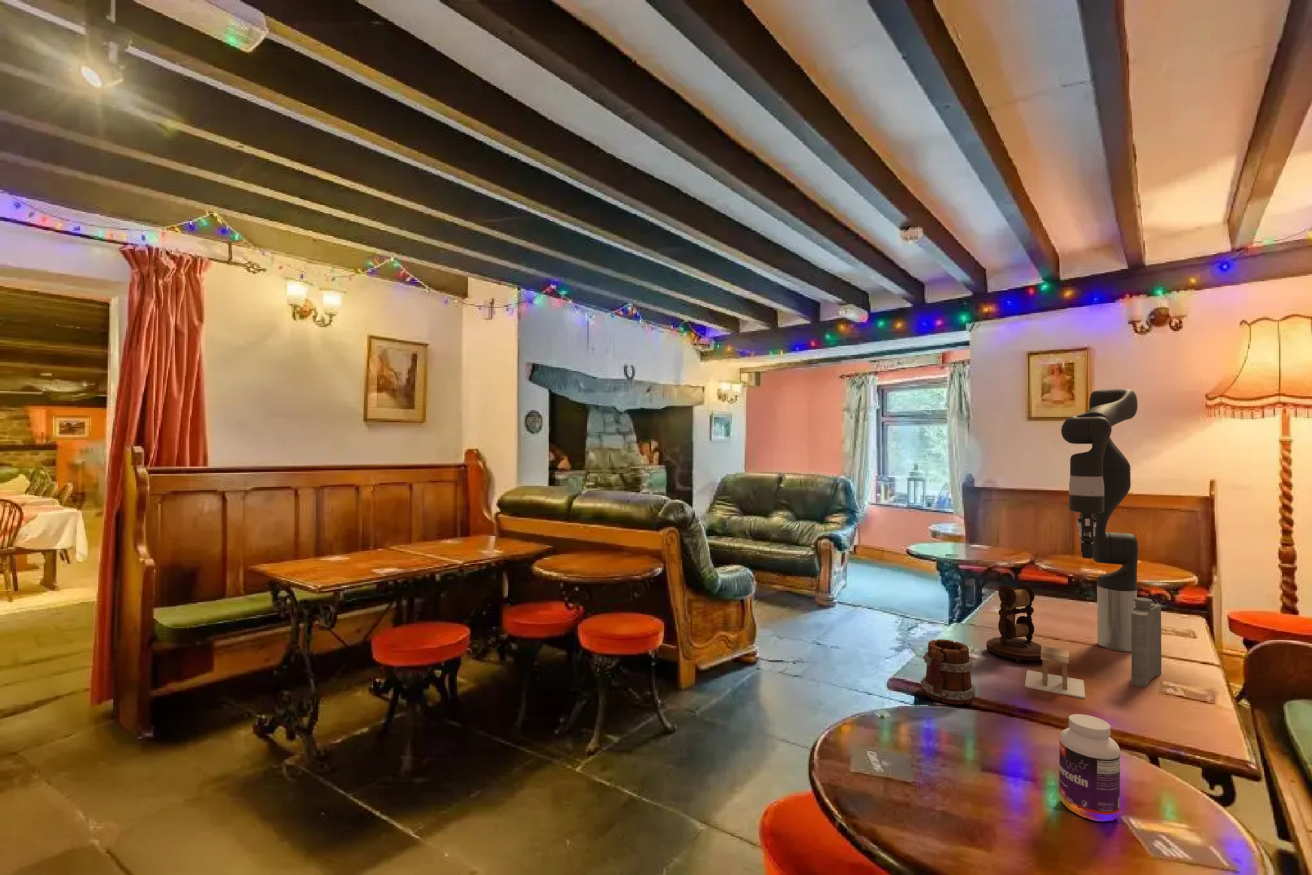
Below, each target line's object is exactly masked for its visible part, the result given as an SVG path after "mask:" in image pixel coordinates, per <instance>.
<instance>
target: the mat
mask: <svg viewBox="0 0 1312 875" xmlns="http://www.w3.org/2000/svg"><path fill="white" fill-rule="evenodd" d="M1024 688H1026V689H1027V688H1028V689H1033V690H1039V691H1042V692H1043V691H1044V692H1048V693H1054V694H1058V695H1059V694H1060V695H1064V696H1068V697H1075V698H1080V699H1084V700H1086V693H1085V690H1086V689H1085V682H1084V679H1078V678H1072V677H1069V676H1067V690H1064V689H1062V675H1056V674H1051V673H1048V681H1047V686H1043V685H1042V672H1041V671H1035V670H1029V669H1027V670H1026V675H1025V683H1024Z"/></svg>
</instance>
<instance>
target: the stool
mask: <svg viewBox="0 0 1312 875" xmlns="http://www.w3.org/2000/svg"><path fill="white" fill-rule="evenodd" d="M1069 657H1070V655H1069V650H1067V649H1060V648H1056V647H1049V646H1042V645H1041V660H1042V661H1041V663H1042V668H1041V669H1042V672H1041V673H1042V685H1043V686H1047V681H1048V674H1049V672H1048V670H1049V669H1048V668H1049V667H1048V666H1049V665H1048V664H1049V662H1055V663H1061V671H1062V672H1061V676H1062V689H1064V690H1067V677H1068V664H1070V662H1069ZM1048 661H1049V662H1048Z"/></svg>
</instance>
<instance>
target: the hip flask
mask: <svg viewBox="0 0 1312 875" xmlns="http://www.w3.org/2000/svg"><path fill="white" fill-rule="evenodd" d="M1134 601H1135V602H1136V603H1135V606H1136V607H1135V608H1134V609H1133V610H1132V611H1131V652H1130V653H1131V655H1130V657H1131V658H1130V659H1131V663H1130V664H1131V666H1130V667H1131V668H1130V669H1131V671H1130V672H1131V684H1132V685H1134V686H1137V687H1141V688H1147V687H1149V683H1150V682H1151V680H1152V679H1154V678H1155V677H1157V676H1160V675H1162V605H1161V604H1158V603H1157V604H1156V603H1153V599H1151V598H1146V597H1138V596H1137V597H1136V598H1134Z"/></svg>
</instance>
